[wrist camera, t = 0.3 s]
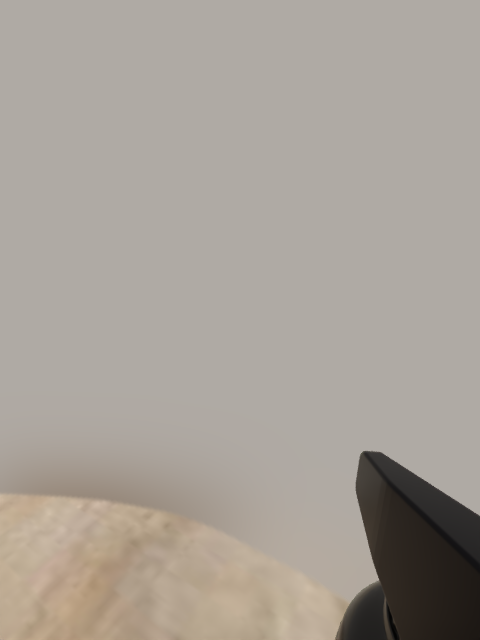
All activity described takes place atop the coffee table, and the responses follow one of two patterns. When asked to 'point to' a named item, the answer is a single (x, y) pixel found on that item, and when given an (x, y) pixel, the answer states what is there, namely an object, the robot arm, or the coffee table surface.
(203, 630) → the coffee table surface
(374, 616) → the supplement bottle
